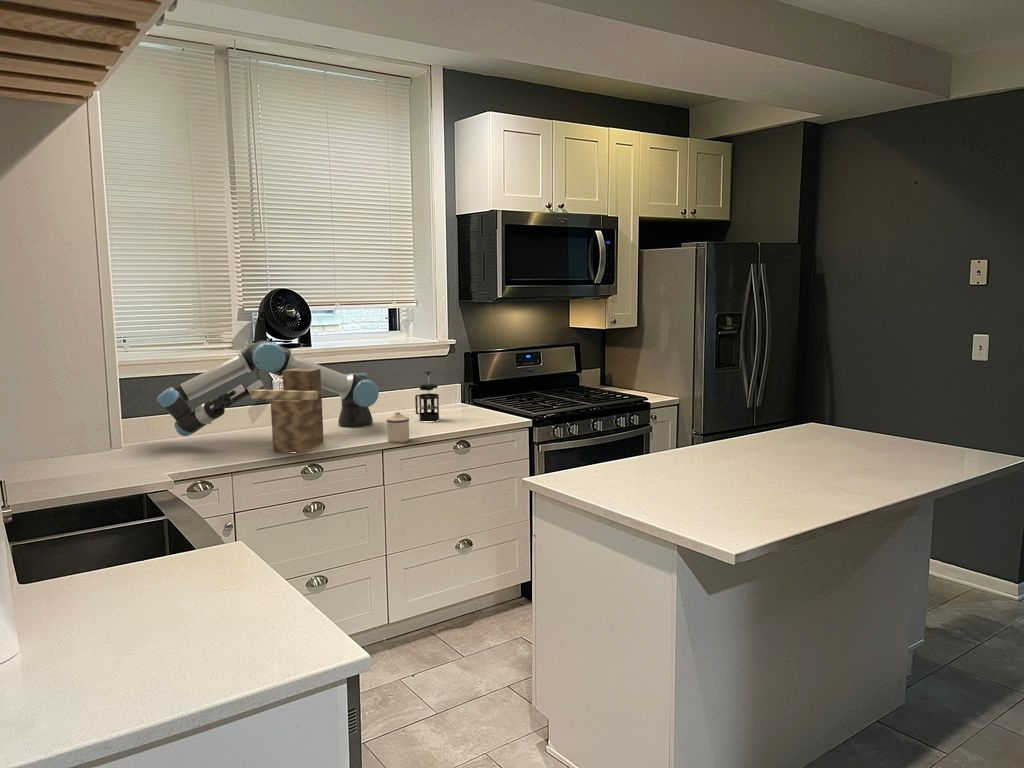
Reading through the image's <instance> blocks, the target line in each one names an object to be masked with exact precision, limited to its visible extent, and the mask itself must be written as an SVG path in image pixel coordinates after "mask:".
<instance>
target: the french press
mask: <svg viewBox="0 0 1024 768" xmlns="http://www.w3.org/2000/svg"><path fill="white" fill-rule="evenodd" d="M433 372H434V371H432V370H426V371H423V373H426V374H427V375H426V376H427V381H428V382H423V383H419V384H418V386H419V390H421V391H428V393H421V394H416V395H414V399H415V415H418V416H419V419H420V421H437V420H439V419H440V407H439V406H440V404H439V403H440V400H439V398H440V395H439V394H438V393H430V391H433V390H434V389H437V388H438V386H439V384H438V383H434V382H430V374H432V373H433ZM422 400H423V405H422ZM428 400H430V403H428ZM435 400H436V405H435ZM418 404H419V406H418ZM418 407H419V411H418ZM422 410H423V412H422ZM435 410H436V411H435ZM420 421H419V422H420Z"/></svg>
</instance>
